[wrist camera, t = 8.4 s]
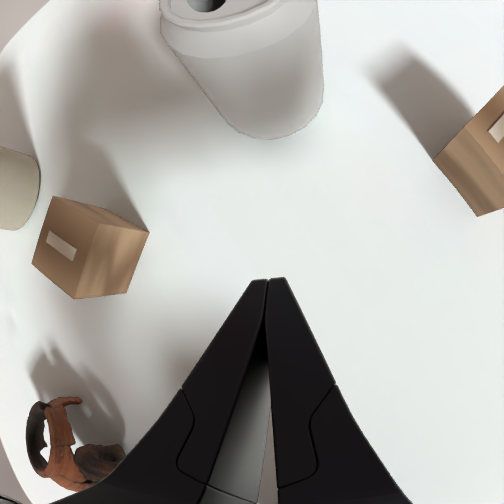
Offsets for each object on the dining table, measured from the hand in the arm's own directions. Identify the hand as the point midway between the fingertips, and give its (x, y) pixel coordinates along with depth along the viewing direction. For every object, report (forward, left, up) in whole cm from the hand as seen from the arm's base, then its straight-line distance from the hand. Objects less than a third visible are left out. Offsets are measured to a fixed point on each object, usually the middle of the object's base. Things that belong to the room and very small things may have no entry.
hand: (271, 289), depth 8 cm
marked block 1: (+13, -6, -13) cm, 19 cm away
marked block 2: (-7, +13, -13) cm, 19 cm away
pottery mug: (-24, +5, -13) cm, 27 cm away
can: (+9, +9, -13) cm, 18 cm away
